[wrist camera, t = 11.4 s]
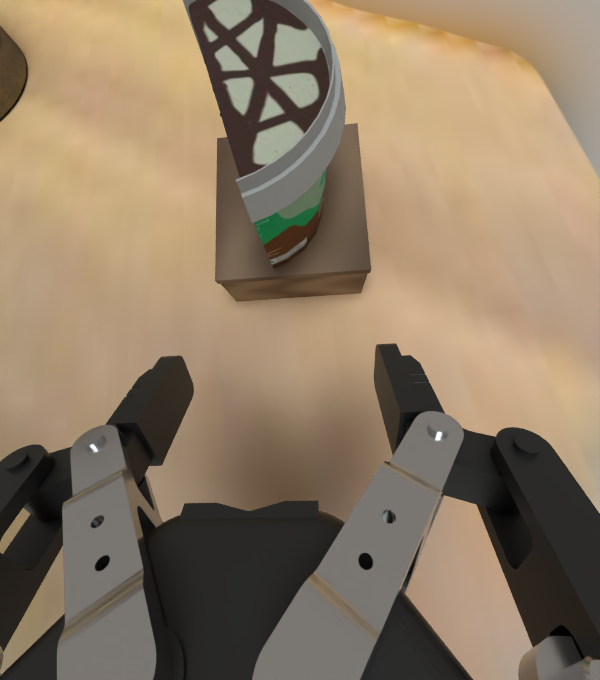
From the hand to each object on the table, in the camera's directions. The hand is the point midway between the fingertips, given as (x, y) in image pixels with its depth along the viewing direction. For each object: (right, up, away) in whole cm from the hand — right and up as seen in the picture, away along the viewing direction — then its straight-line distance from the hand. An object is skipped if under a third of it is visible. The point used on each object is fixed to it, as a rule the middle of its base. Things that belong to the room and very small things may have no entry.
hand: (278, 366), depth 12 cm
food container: (+1, +12, +10) cm, 15 cm away
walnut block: (0, +11, +15) cm, 19 cm away
